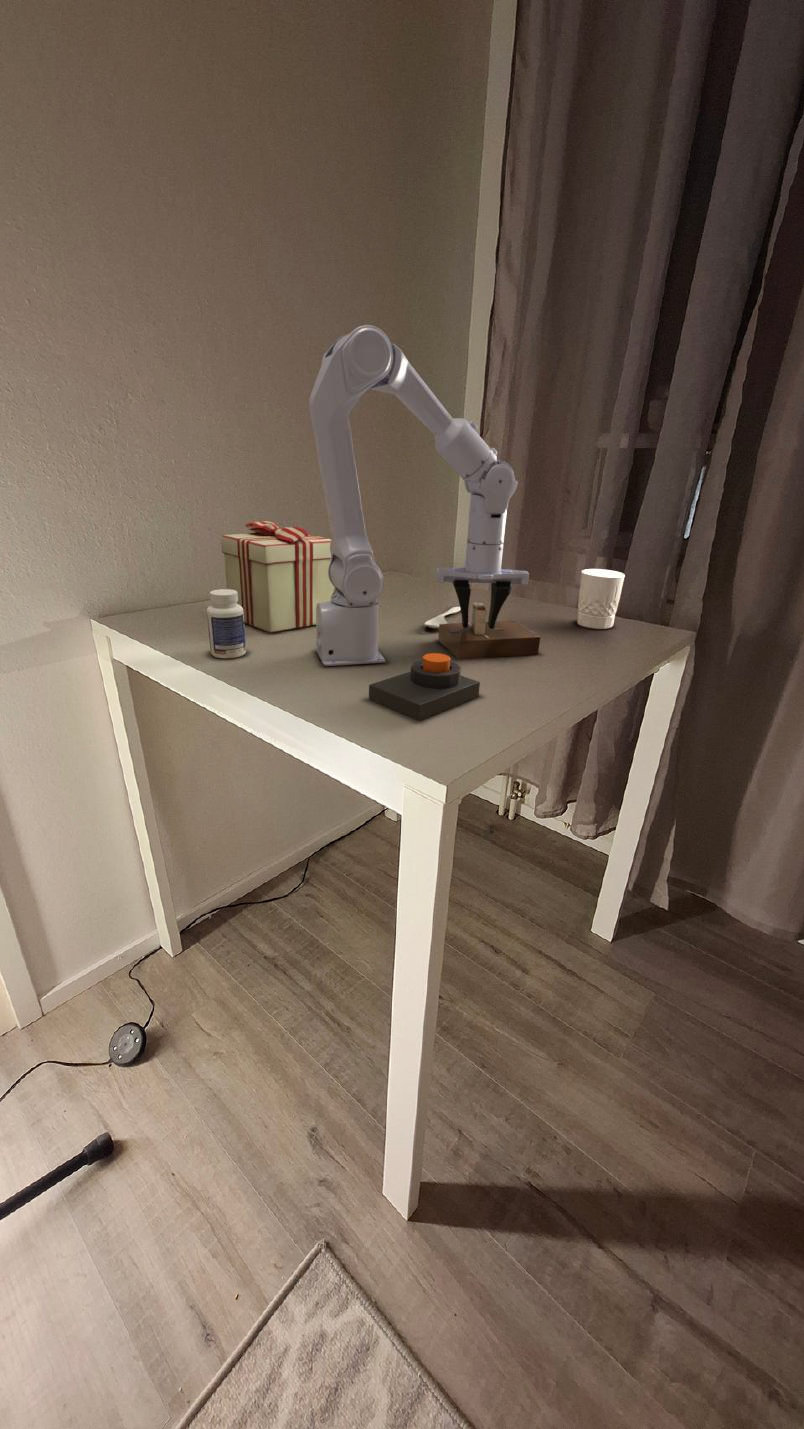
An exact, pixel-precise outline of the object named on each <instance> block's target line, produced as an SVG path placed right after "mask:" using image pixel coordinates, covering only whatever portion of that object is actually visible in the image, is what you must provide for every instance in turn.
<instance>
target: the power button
mask: <svg viewBox="0 0 804 1429" xmlns="http://www.w3.org/2000/svg"><path fill="white" fill-rule="evenodd" d="M422 660H423V667H422V669H423V670H425V671H428V672H436V673H439V672H447V671H449V669H450V662H451V657H450V656H449V655H447V654H444V653H438V652H432V653H431V652H430V653H426V654H424V655H423V656H422Z"/></svg>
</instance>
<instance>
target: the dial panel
mask: <svg viewBox="0 0 804 1429" xmlns="http://www.w3.org/2000/svg"><path fill="white" fill-rule="evenodd" d="M437 641H438V642H439V643H440V644H441V645H443V647H445V648H446V649H447V650H448V651H449V652H450V653H451V654H452V655H454V656H455V657H456V659H458V660H465V659H467V660H468V659H482V658H498V657H499V658H500V657H502V658H503V657H516V656H531V655H539V650H540V645H541V644H540V643H541V636H540V635H538V634H536V633H535V632H533V631H531V630H530V629H528V628H527V627H525V626H523V625H521V623H519V622H517V621H515V620H500V621H499V620H498V621H496V622H495V626H494V629H490V628H489V626H488V621H486V623H485V634H484V635H475V634H474V632H473V629H472V627H471V622H468V628H463V626H462V622H460V623H459V622H458V623H457V622H456V623H453V622H452V623H447V624H439V628H438V639H437Z"/></svg>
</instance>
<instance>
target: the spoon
mask: <svg viewBox="0 0 804 1429" xmlns="http://www.w3.org/2000/svg"><path fill="white" fill-rule="evenodd" d="M458 612H461V609H460V606H453V607H451V608H450V609H448V610H447V611H444V613H441V614H438V615H437V616H435V617H433V618H430V619H428V620H426V621H425V622H424V625H423V626H426V627H428V628H430V629H435V630H437V629H438V630H439V624H448V622H447V620H446V618H445V616H448V615H451V614H456V613H458Z"/></svg>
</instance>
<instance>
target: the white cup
mask: <svg viewBox="0 0 804 1429" xmlns="http://www.w3.org/2000/svg"><path fill="white" fill-rule="evenodd" d="M625 577H626V574H625V573H624V572H620V571H616V570H611V569H602V568H588V569H583V570H581V572H580V582H579V590H578V602H577V617H576V623H577V625H578V626H581V627H583V628H588V629H595V630H607V629H611V628H612V627H614V623H615V618H616V613H617V611H618V608H619V604H620V600H621V596H622V590H623V586H624V583H625V582H624V581H625Z"/></svg>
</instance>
